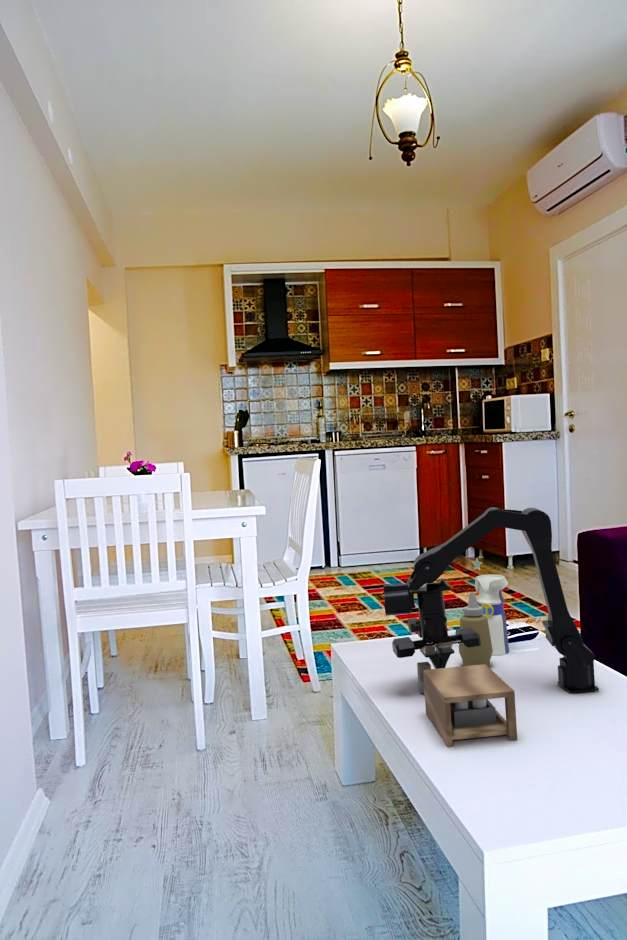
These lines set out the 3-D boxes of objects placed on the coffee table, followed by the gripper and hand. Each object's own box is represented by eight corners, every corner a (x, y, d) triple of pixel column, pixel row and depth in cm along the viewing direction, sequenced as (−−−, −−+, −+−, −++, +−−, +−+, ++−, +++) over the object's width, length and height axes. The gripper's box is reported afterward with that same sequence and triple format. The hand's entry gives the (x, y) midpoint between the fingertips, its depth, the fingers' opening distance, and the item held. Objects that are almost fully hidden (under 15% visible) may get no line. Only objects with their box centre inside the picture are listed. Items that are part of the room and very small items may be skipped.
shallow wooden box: (465, 684, 154) (464, 658, 154) (509, 734, 127) (508, 702, 127) (417, 689, 153) (415, 662, 153) (451, 740, 126) (449, 707, 126)
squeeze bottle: (487, 673, 162) (483, 597, 161) (454, 669, 166) (450, 595, 165) (498, 662, 169) (493, 590, 168) (466, 659, 173) (461, 588, 172)
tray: (486, 712, 136) (485, 690, 135) (496, 723, 130) (495, 700, 130) (447, 716, 135) (445, 693, 135) (455, 727, 129) (453, 704, 129)
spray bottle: (505, 657, 172) (499, 558, 171) (473, 654, 177) (467, 557, 176) (515, 648, 179) (510, 553, 178) (483, 645, 184) (478, 552, 183)
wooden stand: (488, 707, 141) (485, 664, 141) (517, 739, 125) (514, 691, 125) (425, 713, 140) (423, 670, 140) (447, 747, 124) (444, 697, 124)
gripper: (462, 597, 161) (470, 663, 161) (383, 609, 159) (392, 675, 160) (477, 608, 149) (485, 678, 150) (393, 620, 148) (402, 691, 149)
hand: (440, 680), depth 152 cm, fingers closed
